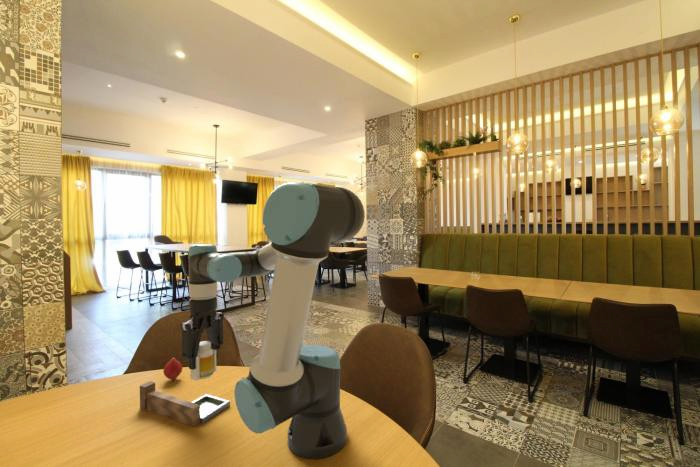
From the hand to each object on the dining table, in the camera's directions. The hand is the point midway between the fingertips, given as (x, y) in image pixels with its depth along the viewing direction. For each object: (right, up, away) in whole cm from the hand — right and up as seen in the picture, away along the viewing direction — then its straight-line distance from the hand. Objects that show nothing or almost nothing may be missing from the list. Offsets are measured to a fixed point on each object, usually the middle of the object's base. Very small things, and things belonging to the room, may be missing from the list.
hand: (203, 374), depth 97 cm
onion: (-20, -11, +19) cm, 29 cm away
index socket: (0, -11, 0) cm, 11 cm away
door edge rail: (-8, -11, -3) cm, 14 cm away
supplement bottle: (0, -1, 0) cm, 1 cm away
